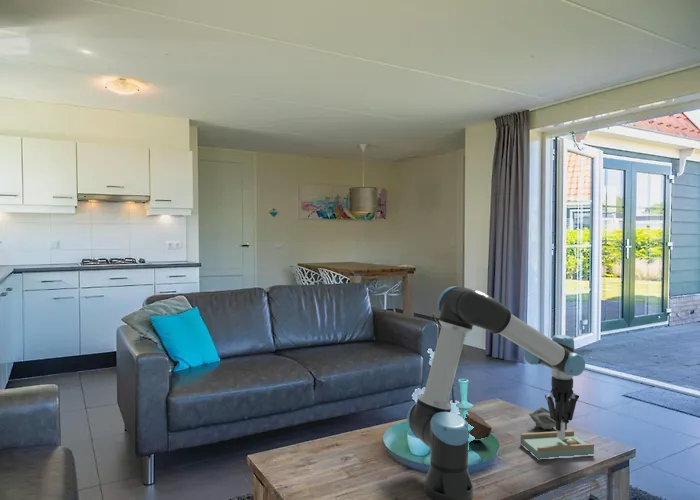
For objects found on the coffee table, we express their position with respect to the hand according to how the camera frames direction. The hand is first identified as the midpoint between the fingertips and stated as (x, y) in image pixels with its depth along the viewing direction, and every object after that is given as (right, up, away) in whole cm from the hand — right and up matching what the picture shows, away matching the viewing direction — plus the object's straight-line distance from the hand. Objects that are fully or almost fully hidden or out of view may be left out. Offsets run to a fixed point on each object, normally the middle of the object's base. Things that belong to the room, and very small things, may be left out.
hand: (560, 438), depth 187 cm
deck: (-2, -5, 0) cm, 5 cm away
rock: (-31, -4, +9) cm, 32 cm away
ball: (+5, -3, +1) cm, 5 cm away
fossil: (+2, -4, +22) cm, 22 cm away
